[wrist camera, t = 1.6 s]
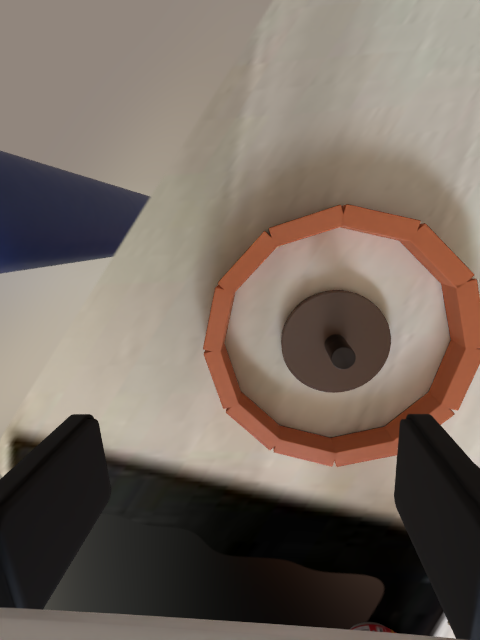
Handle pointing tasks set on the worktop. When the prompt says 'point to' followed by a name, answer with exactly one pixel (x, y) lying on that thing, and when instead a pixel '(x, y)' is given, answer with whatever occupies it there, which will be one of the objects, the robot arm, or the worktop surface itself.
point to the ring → (445, 394)
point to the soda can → (371, 627)
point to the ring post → (335, 341)
